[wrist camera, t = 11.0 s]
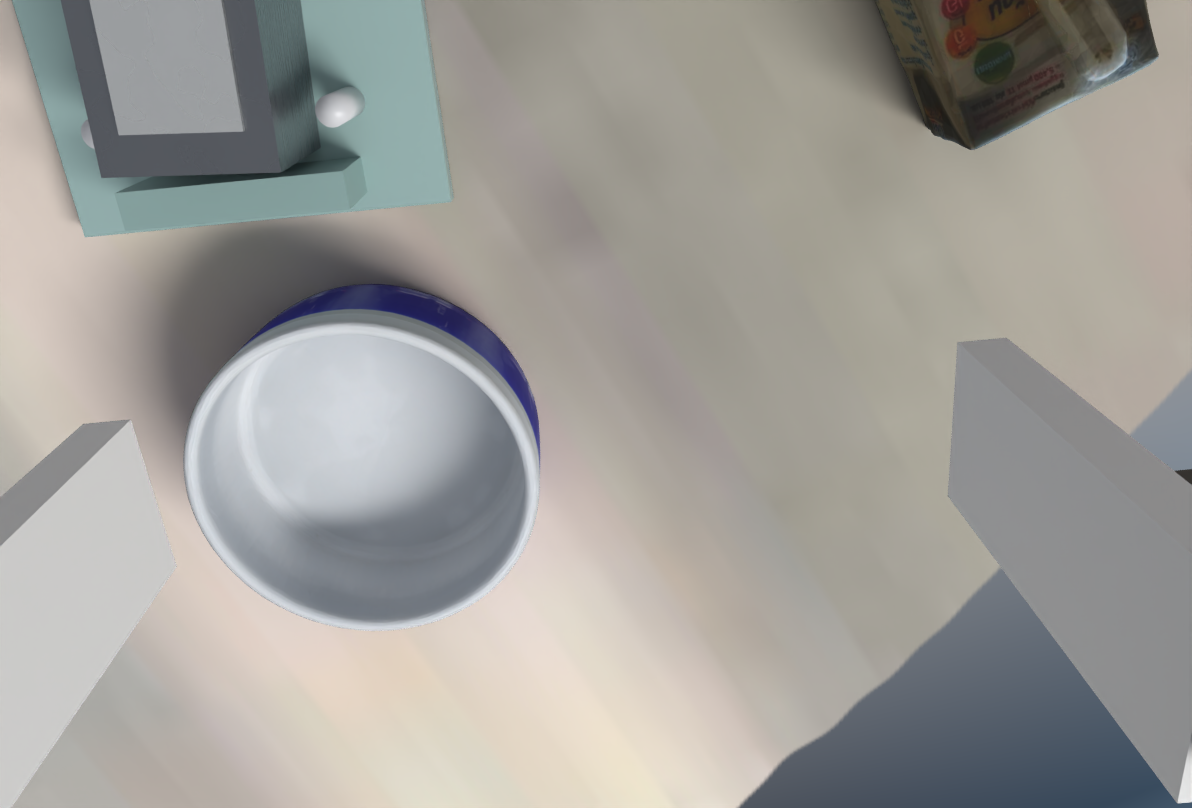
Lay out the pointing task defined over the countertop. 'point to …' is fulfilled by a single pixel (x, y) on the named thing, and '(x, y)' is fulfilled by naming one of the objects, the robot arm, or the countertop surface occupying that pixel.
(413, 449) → the dog bowl
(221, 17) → the block
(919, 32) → the beverage carton
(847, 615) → the countertop surface
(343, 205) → the pin tray
